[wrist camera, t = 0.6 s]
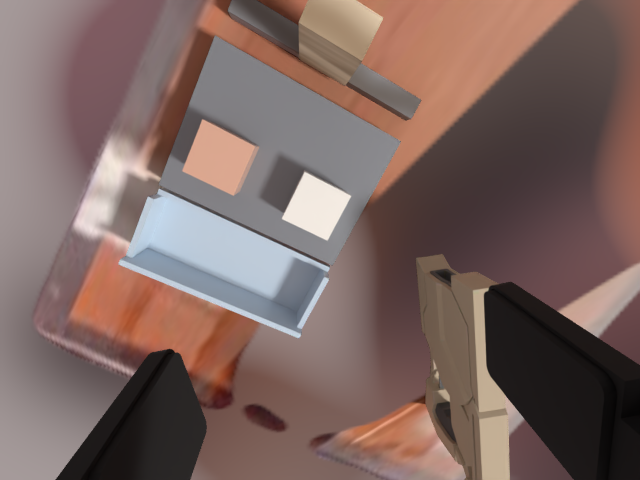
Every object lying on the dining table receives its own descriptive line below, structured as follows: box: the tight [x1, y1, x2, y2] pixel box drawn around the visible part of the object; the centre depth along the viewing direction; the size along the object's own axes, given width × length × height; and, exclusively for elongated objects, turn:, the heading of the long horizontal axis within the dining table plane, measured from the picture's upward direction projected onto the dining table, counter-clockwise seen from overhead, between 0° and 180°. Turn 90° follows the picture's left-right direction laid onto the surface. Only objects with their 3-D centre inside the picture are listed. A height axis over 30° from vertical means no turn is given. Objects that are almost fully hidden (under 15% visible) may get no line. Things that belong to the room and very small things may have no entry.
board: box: [159, 36, 401, 265], centre depth 33 cm, size 15×20×2 cm
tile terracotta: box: [182, 119, 259, 196], centre depth 30 cm, size 5×5×3 cm
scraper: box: [228, 0, 421, 120], centre depth 27 cm, size 3×20×11 cm, turn 63°
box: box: [119, 187, 330, 338], centre depth 34 cm, size 8×20×5 cm, turn 63°
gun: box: [416, 254, 510, 480], centre depth 35 cm, size 24×3×15 cm, turn 8°
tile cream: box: [282, 170, 351, 241], centre depth 32 cm, size 5×5×3 cm
